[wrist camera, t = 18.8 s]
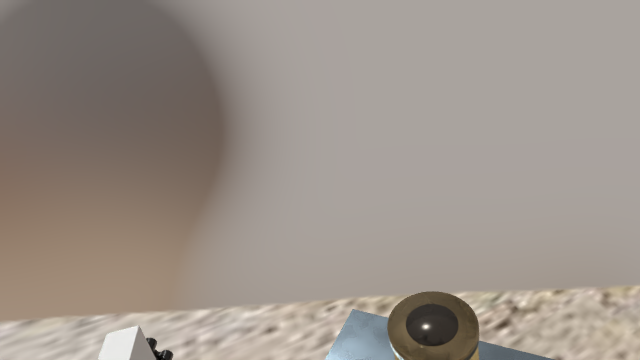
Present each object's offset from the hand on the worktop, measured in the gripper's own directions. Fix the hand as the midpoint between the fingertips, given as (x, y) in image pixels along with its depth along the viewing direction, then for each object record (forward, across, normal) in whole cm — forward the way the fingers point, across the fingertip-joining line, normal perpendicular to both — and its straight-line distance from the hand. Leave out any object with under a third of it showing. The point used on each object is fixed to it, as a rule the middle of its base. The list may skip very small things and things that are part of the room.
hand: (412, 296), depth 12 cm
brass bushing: (+13, +4, -27) cm, 30 cm away
